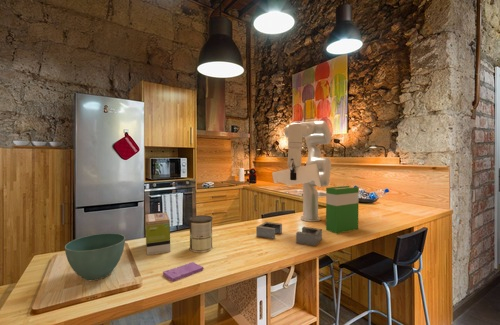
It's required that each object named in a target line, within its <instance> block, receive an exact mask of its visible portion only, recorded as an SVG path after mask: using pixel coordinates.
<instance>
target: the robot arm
mask: <svg viewBox="0 0 500 325" xmlns="http://www.w3.org/2000/svg"><path fill="white" fill-rule="evenodd" d="M283 132H284V136H285V137H286V138H287V141H288V142H287V149H288V152H287V167H288V168H289V169H290V180H296V167H301V166H302V149H303V138H304V140H305V144H306V147H307V150H308V151H307V152H308V154H307V160H306V166H307V165H312V164H317V168H318V171H319V179H320V183H321V188H322V187H326V188H327V186H329V184H330V180H331V179H330V178H331V171H332V161H331V159H330V158H329V157H326V156H325V157H324V156H322V151H321V149H320V147H318V146H317V145H329V144H330V143H331V141H332V135H331V130H330V127H329V125H328V123H327V122H326V121H325V120H313V121H312V120H311V121H304V122H300V123H299V122H292V123H289V124H287V125H286V126H285V127H284V131H283ZM316 187H317V186H316V185H315V182H314V181H311V182H308V183H302V200H303V201H302V203H303V204H302V216H300V219H301V221H303V222H304V221H305V222H309V223H310V222H312V223H313V222H319V221H321V217H320V216H319V192H318V190H317V188H316Z"/></svg>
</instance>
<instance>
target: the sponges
mask: <svg viewBox="0 0 500 325" xmlns="http://www.w3.org/2000/svg"><path fill="white" fill-rule="evenodd" d="M204 269H205V268H204V266H202V265H200V264H198V263H196V262H194V261H192V262H189V263H185V264H183V265H180V266H177V267H174V268H170V269H166V270H164V271H162V276H163V277H165V278H166V279H168V280H170V281H171V282H173V283H174V282H176V281H178V280H179V281H180V280H182V279H184V278H186V277H188V276H192V275H195V274H197V273H200V272H202V271H204Z"/></svg>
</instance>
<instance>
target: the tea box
mask: <svg viewBox="0 0 500 325" xmlns="http://www.w3.org/2000/svg"><path fill="white" fill-rule="evenodd" d="M144 216H145V218H144V219H145V246H146V255H147V256H150V255H157V254H165V253H170V252H171V220H170V218H169V215H168V213H167V212H158V213H149V214H148V213H147V214H145V215H144Z"/></svg>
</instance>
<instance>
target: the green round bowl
mask: <svg viewBox="0 0 500 325" xmlns="http://www.w3.org/2000/svg"><path fill="white" fill-rule="evenodd" d="M125 243H126V236H125V235H123V234H121V233H115V232H113V233H112V232H110V233H105V232H104V233H96V234H91V235H86V236H82V237H79V238H76V239H72V240H71V241H69V242H67V244H65V245H64V251H65V256H66V257H65V258H66V259H67V262H68V264H69V265H70V267H71V269H72V271H74V272H75V273H76V275H77V276H79V277H80V278H81V279H83V280H84V281H89V280H91V281H98V280H101V278H102V279H104V278H106V277H108V276H109V275H111V273H112V272H113V271H114V269H115V268H116V266H117V265H118V264H119V262H120V260H121V257H122V255H123V252H124V248H125V245H126V244H125ZM97 279H98V280H97Z"/></svg>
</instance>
